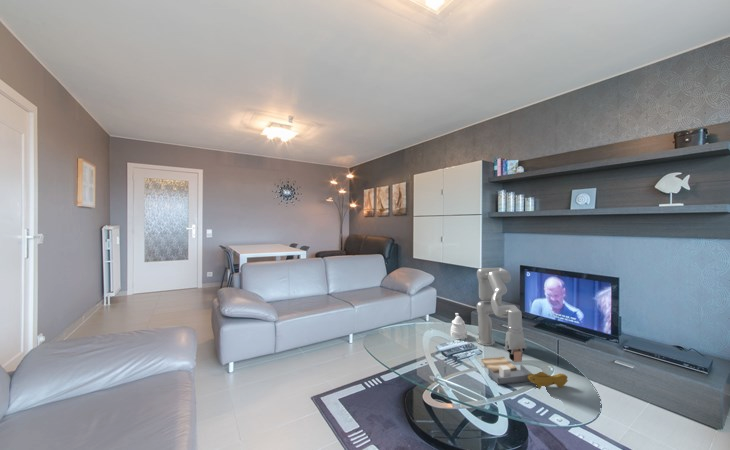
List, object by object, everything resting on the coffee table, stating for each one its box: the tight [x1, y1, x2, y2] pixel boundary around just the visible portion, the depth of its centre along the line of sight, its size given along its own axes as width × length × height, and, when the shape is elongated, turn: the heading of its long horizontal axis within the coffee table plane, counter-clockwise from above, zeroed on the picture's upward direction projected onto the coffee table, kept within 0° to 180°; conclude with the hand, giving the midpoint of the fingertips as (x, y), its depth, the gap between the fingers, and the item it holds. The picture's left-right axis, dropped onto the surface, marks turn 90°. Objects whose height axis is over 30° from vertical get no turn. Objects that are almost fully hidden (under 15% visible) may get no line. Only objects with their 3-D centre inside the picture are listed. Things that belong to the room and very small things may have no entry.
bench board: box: [480, 356, 518, 373], centre depth 189 cm, size 14×16×2 cm
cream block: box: [499, 365, 511, 377], centre depth 176 cm, size 4×4×6 cm
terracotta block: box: [513, 349, 523, 363], centre depth 176 cm, size 4×4×6 cm
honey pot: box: [450, 312, 468, 340], centre depth 235 cm, size 13×13×18 cm
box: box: [487, 364, 533, 386], centre depth 176 cm, size 11×22×4 cm, turn 96°
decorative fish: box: [528, 371, 569, 390], centre depth 166 cm, size 22×3×10 cm, turn 93°
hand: (515, 359), depth 176 cm, fingers closed on terracotta block, 4 cm apart
